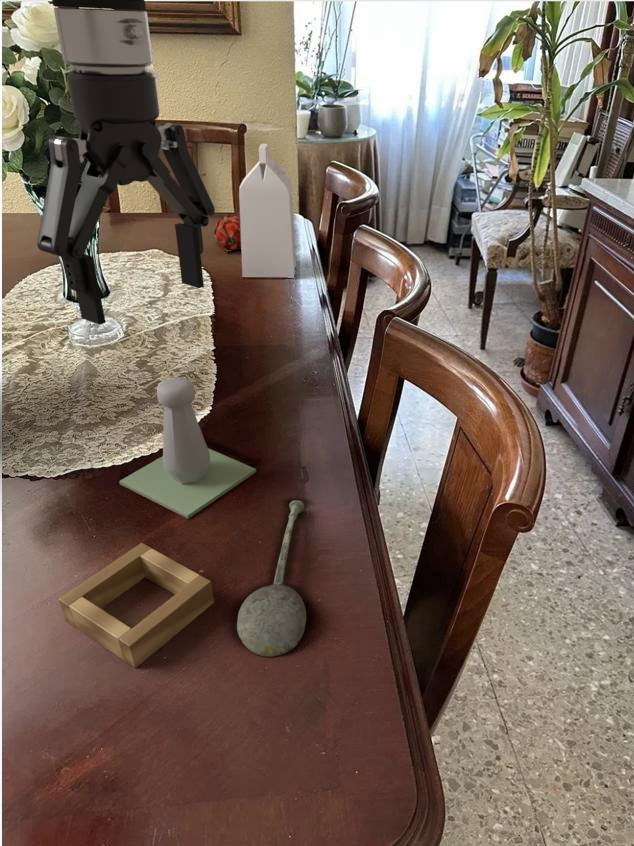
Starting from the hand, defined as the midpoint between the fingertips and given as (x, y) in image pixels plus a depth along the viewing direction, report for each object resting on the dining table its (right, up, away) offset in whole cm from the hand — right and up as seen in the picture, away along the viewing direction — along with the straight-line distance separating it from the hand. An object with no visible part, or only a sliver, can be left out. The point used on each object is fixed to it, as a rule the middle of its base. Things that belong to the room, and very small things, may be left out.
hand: (146, 301), depth 71 cm
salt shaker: (+1, -19, +13) cm, 23 cm away
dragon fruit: (-9, +38, +95) cm, 103 cm away
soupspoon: (+15, -29, -1) cm, 33 cm away
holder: (+1, -32, -6) cm, 33 cm away
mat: (+1, -19, +13) cm, 23 cm away
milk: (+2, +29, +82) cm, 87 cm away
